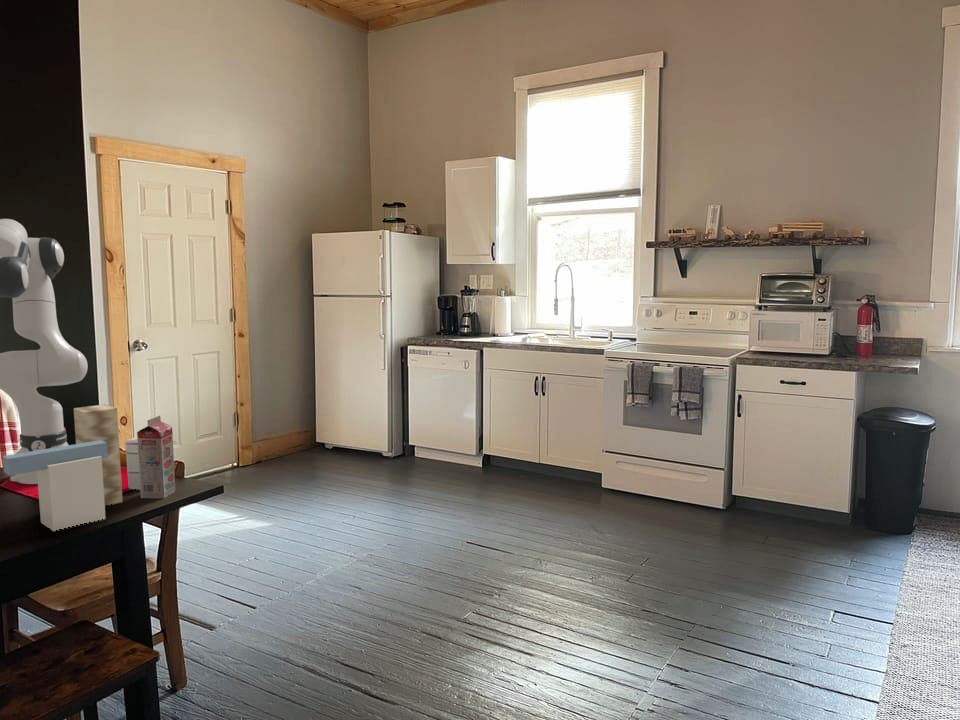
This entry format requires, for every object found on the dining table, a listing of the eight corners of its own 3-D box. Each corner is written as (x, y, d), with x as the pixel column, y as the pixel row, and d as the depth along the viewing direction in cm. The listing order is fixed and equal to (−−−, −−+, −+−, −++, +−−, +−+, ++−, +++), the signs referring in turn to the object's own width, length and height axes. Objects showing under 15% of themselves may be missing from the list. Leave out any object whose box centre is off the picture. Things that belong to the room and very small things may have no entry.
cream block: (53, 531, 176) (48, 466, 174) (40, 522, 182) (36, 459, 180) (105, 519, 185) (101, 456, 183) (91, 510, 191) (87, 450, 189)
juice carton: (140, 497, 202) (136, 420, 200) (152, 490, 209) (148, 415, 206) (164, 498, 202) (160, 420, 199) (175, 491, 209) (171, 415, 206)
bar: (9, 475, 171) (7, 459, 170) (4, 472, 173) (2, 456, 173) (107, 457, 187) (106, 442, 186) (101, 455, 189) (100, 440, 189)
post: (91, 509, 193) (85, 412, 189) (79, 502, 198) (73, 408, 195) (122, 502, 199) (116, 408, 195) (110, 495, 204) (105, 404, 201)
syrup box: (146, 490, 209) (143, 440, 207) (127, 489, 210) (124, 439, 208) (158, 484, 215) (155, 436, 213) (140, 483, 216) (137, 435, 214)
